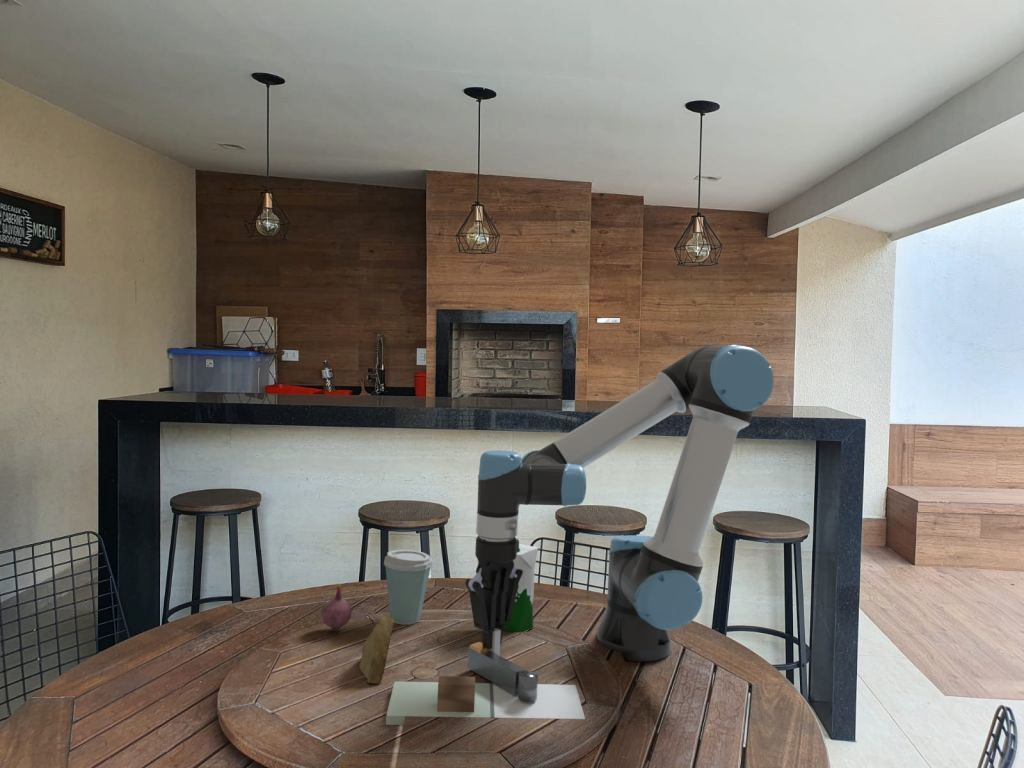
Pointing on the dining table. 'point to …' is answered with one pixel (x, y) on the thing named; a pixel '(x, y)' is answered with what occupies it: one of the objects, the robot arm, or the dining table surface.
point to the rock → (376, 650)
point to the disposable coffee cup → (406, 584)
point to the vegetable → (336, 611)
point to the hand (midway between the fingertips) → (491, 663)
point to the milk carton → (523, 590)
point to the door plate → (485, 702)
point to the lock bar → (503, 672)
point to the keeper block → (456, 694)
